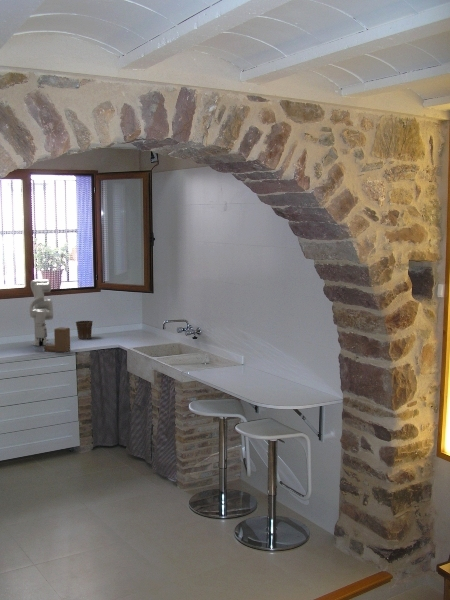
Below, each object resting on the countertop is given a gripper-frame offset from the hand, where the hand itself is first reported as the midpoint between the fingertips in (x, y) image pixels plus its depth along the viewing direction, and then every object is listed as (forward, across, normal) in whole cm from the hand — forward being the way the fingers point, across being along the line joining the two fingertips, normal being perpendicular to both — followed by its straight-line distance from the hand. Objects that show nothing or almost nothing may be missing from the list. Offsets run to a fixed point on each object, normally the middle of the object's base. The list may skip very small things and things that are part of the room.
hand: (41, 345), depth 586 cm
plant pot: (+5, -5, -61) cm, 62 cm away
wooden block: (+3, -23, +1) cm, 23 cm away
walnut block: (+3, -13, +1) cm, 13 cm away
